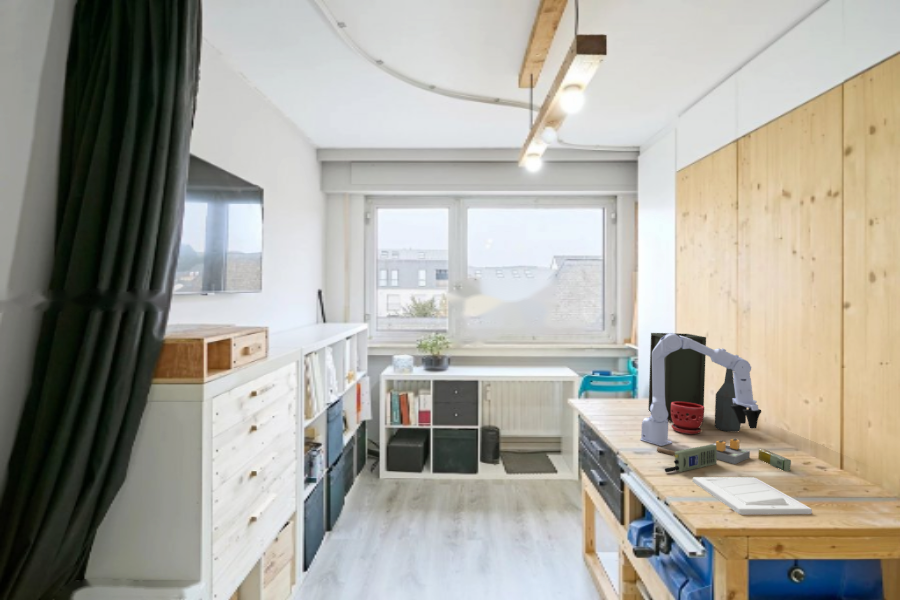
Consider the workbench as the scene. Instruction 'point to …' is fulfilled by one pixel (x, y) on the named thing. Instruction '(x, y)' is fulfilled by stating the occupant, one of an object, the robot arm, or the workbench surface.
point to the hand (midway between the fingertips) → (747, 425)
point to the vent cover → (750, 496)
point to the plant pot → (687, 417)
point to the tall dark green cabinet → (681, 373)
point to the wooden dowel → (666, 451)
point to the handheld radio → (694, 458)
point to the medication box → (774, 459)
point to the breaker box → (732, 455)
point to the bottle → (726, 405)
